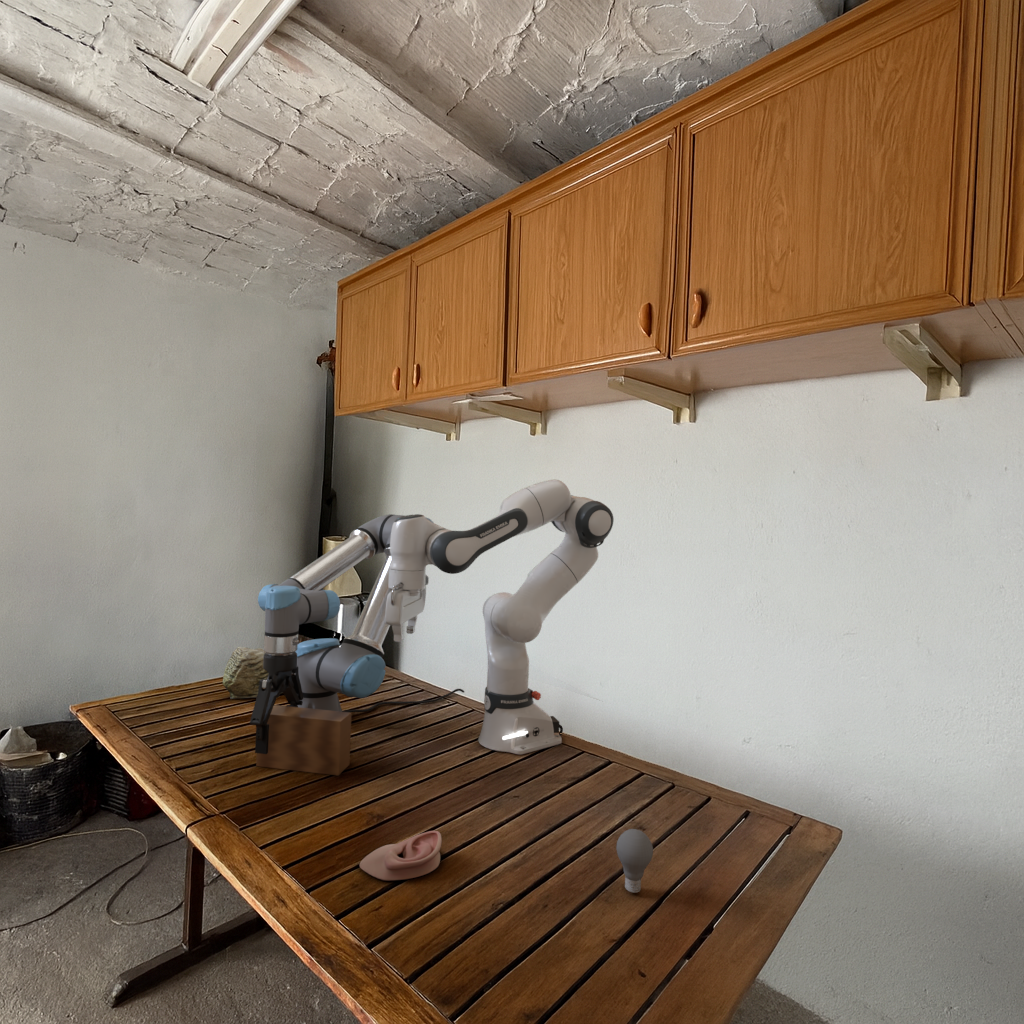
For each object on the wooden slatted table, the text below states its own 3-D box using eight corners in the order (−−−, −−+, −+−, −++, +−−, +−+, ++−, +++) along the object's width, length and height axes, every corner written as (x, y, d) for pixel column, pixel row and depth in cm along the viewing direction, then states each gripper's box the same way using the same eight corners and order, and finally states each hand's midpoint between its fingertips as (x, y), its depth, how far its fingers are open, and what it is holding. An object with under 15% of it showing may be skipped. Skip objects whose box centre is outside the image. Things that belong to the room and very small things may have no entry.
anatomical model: (352, 851, 106) (379, 818, 118) (351, 875, 106) (379, 839, 118) (427, 864, 104) (448, 829, 115) (426, 888, 104) (447, 850, 115)
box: (256, 766, 147) (258, 713, 147) (270, 755, 153) (272, 704, 153) (338, 775, 144) (340, 721, 144) (349, 764, 150) (351, 712, 150)
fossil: (218, 695, 195) (220, 647, 195) (278, 685, 208) (279, 640, 207) (228, 703, 189) (230, 653, 188) (289, 692, 201) (290, 645, 201)
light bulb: (610, 879, 108) (613, 822, 108) (644, 879, 109) (647, 822, 109) (619, 902, 102) (622, 840, 102) (655, 901, 103) (658, 840, 103)
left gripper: (267, 666, 136) (263, 764, 137) (319, 642, 161) (315, 725, 161) (235, 663, 138) (231, 761, 138) (291, 640, 162) (288, 722, 162)
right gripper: (405, 587, 144) (403, 647, 144) (430, 576, 164) (428, 629, 164) (379, 585, 145) (376, 645, 145) (407, 575, 165) (405, 628, 165)
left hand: (276, 742), depth 149 cm, fingers open, 13 cm apart
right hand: (404, 637), depth 155 cm, fingers open, 8 cm apart
